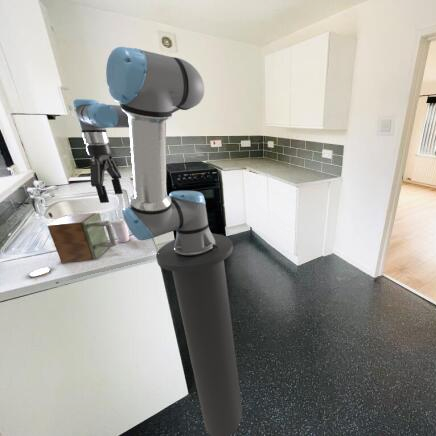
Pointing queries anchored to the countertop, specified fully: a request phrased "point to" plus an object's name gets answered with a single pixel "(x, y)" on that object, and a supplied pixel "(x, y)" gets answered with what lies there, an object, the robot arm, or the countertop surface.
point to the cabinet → (71, 238)
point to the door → (98, 235)
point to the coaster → (40, 272)
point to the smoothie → (120, 228)
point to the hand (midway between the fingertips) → (112, 198)
